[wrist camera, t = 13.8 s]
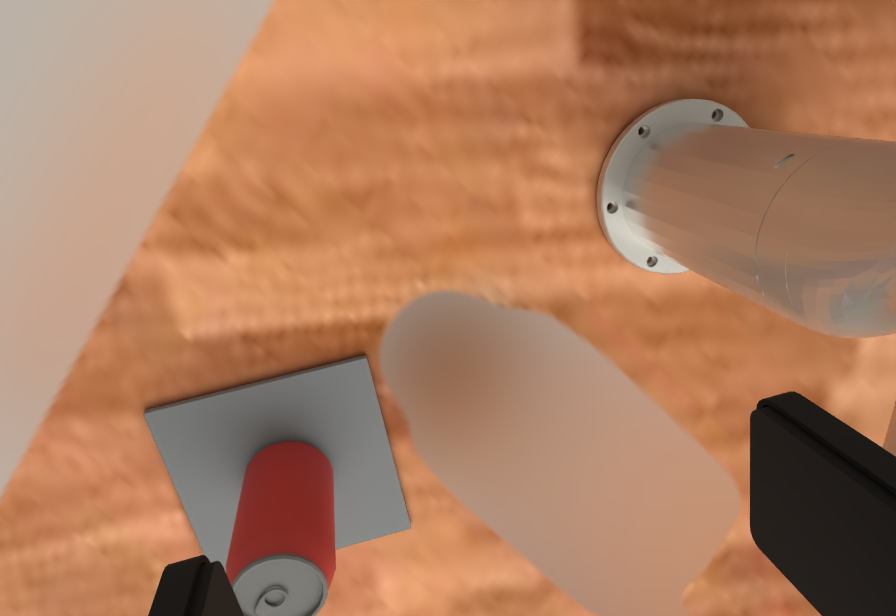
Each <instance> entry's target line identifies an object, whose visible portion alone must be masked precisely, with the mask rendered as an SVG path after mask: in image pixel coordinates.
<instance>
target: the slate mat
mask: <svg viewBox="0 0 896 616" xmlns="http://www.w3.org/2000/svg"><path fill="white" fill-rule="evenodd" d="M143 415H144V417H145V420H146V422H147V424H148V427H149V429H150V431H151V433H152V436H153V438H154V440H155V443H156V445H157V447H158V450H159V452H160V454H161V456H162V459H163V461H164V463H165V466H166V468H167V470H168V473H169V475H170V477H171V479H172V482H173V484H174V486H175V489H176V491H177V493H178V495H179V498H180V500H181V502H182V505H183V507H184V509H185V512H186V514H187V516H188V518H189V521H190V523H191V525H192V528H193V530H194V532H195V535H196V537H197V539H198V541H199V544H200V546H201V548H202V551H203V553H204V555H205V556H206V557H207V558H208V559H209V561H210V562H214V561H220V562H221V563H222V565H223V567H224V570H225V572H226V562H227V557H228V552H229V548H230V543H231V538H232V533H233V528H234V523H235V518H236V513H237V508H238V503H239V499H240V494H241V489H242V484H243V479H244V475H245V472H246V468H247V465H248V464H249V463H250V461H251V460H252V459H253V457H254V456H255V455H256V454H257V453H259V452H260V451H262V450H263V449H265V448H266V447H267V446H270V445H273V444H276V443H279V442H287V441H297V442H302V443H307V444H309V445H311V446H313V447H315V448H317V449H319V450H320V451H321V452H322V453H323V454H324V455H325V456H326V457H327V458H328V459H329V462H330V464H331V466H332V468H333V479H334V517H335V550H336V549H340V548H343V547H347V546H350V545H354V544H357V543H361V542H365V541H368V540H372V539H375V538H379V537H382V536H386V535H389V534H393V533H396V532H400V531H403V530H407V529H410V528H411V523H410V519H409V516H408V512H407V508H406V504H405V500H404V497H403V493H402V489H401V485H400V481H399V478H398V474H397V470H396V466H395V462H394V459H393V455H392V451H391V447H390V443H389V440H388V436H387V432H386V428H385V425H384V421H383V417H382V413H381V409H380V406H379V402H378V398H377V394H376V390H375V387H374V383H373V379H372V375H371V371H370V368H369V364H368V360H367V356H366V355H362V356H358V357H354V358H350V359H346V360H342V361H338V362H334V363H330V364H326V365H322V366H318V367H314V368H310V369H306V370H302V371H298V372H294V373H290V374H286V375H282V376H278V377H274V378H270V379H266V380H262V381H258V382H255V383H251V384H247V385H243V386H239V387H235V388H231V389H227V390H223V391H219V392H215V393H211V394H207V395H203V396H199V397H195V398H191V399H187V400H183V401H179V402H175V403H171V404H167V405H163V406H159V407H155V408H151V409H147V410H145V411H144V413H143Z"/></svg>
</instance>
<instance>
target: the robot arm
mask: <svg viewBox="0 0 896 616" xmlns="http://www.w3.org/2000/svg"><path fill="white" fill-rule="evenodd" d="M712 113H713V115H712ZM639 128H641V132H640V133H639V134H638V131H639ZM596 196H597V213H598V217H599V221H600V225H601V228H602V230H603V232H604V235H605V237H606V239H607V241H608V242H609V243H610V245H611V246H612V247H613V249H614V250H615V251H616V252H617V253H618V254H619V255H620V256H622V257H623V258H624V259H625V260H626V261H628V262H630V263H632V264H633V265H635V266H637V267H638V268H641V269H643V270H646V271H649V272H653V273H660V274H676V273H682V272H686V271H690V270H692V271H694V272H695V273H697V274H699V275H701V276H703V277H705V278H707V279H709V280H711V281H713V282H715V283H717V284H719V285H721V286H723V287H725V288H727V289H729V290H731V291H733V292H735V293H737V294H739V295H741V296H743V297H745V298H747V299H749V300H751V301H753V302H755V303H757V304H759V305H761V306H763V307H765V308H767V309H769V310H771V311H773V312H775V313H777V314H779V315H781V316H783V317H785V318H787V319H789V320H791V321H793V322H795V323H797V324H799V325H801V326H804V327H806V328H808V329H810V330H813V331H816V332H819V333H822V334H826V335H830V336H835V337H843V338H870V337H877V336H885V335H890V334H895V333H896V142H894V141H883V140H872V139H860V138H850V137H840V136H829V135H819V134H809V133H799V132H789V131H779V130H769V129H758V128H749V126H748V124H747V123H746V122H745V121H744V120H743V119H742V118H741V117H740V116H739V115H738V114H737V113H736V112H734V111H733V110H731V109H730V108H728V107H727V106H725V105H722V104H720V103H717V102H714V101H711V100H703V99H678V100H674V101H669V102H665V103H663V104H660V105H658V106H656V107H653V108H651V109H649V110H648V111H646V112H645V113H643V114H642V115H640V116H639V117H637V118H636V119H635V120H634V121H633V122H632V123H631V124H630V125H629V126H628V127H627V128H625V129H624V130H623V131H622V133H621V134H620V136H619V137H618V138H617V140H616V141H615V142H614V144H613V145H612V147H611V149H610V151H609V153H608V155H607V157H606V159H605V161H604V163H603V166H602V169H601V173H600V176H599V180H598V187H597V195H596ZM609 203H610V207H609V208H607V205H608V204H609ZM648 258H649V259H648ZM647 259H648V261H647ZM750 531H751V534H752V537H753V539H754V541H755V543H756V545H757V546H758V548H759V549H760V550H761V551H762V552H763V553H764V554H765V555H766V556H767V558H768V559H769V560H770V561H771V562H772V563H773V564H774V565H775V566H776V567H777V568H778V569H779V570H780V571H781V572H782V574H783V575H784V576H785V577H786V578H787V579H788V580H789V581H790V582H791V583H792V584H793V585H794V586H795V587H796V588H797V590H798V591H799V592H800V593H801V594H802V595H803V596H804V597H805V598H806V599H807V600H808V601H809V602H810V603H811V604H812V606H813V607H814V608H815V609H816V610H817V611H818V612H819V613H820V614H821V615H822V616H896V402H895V406H894V409H893V413H892V416H891V420H890V423H889V427H888V431H887V434H886V438H885V441H884V445H883V448H882V447H880V446H879V445H877V444H876V443H874V442H873V441H871V440H870V439H868V438H867V437H865V436H864V435H862V434H860V433H859V432H857V431H856V430H854V429H853V428H851V427H850V426H848V425H847V424H845V423H844V422H842V421H840V420H839V419H837V418H836V417H834V416H833V415H831V414H830V413H828V412H827V411H825V410H824V409H822V408H820V407H819V406H817V405H816V404H814V403H813V402H811V401H810V400H808V399H807V398H805V397H804V396H802V395H800V394H798V393H796V392H787V393H783V394H779V395H776V396H772V397H769V398H765V399H762V400H760V401H759V402H758V404H757V409H756V410H754V411H752V413H751V417H750ZM148 616H244V614H243V612H242V610H241V607H240V605H239V603H238V600H237V598H236V596H235V593H234V591H233V588H232V586H231V584H230V581H229V579H228V577H227V574H226V572H225V570H224V567H223V565H222V563H221V562H220V561H214V562H210V561H209V559H208V558H207V557H206V556H205V555H201V556H198V557H194V558H190V559H187V560H183V561H180V562H176V563H172V564H169V565H167V566H166V567H165V569H164V571H163V573H162V576H161V579H160V582H159V585H158V588H157V591H156V594H155V597H154V600H153V603H152V606H151V609H150V612H149V615H148Z"/></svg>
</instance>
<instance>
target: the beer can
mask: <svg viewBox="0 0 896 616" xmlns="http://www.w3.org/2000/svg"><path fill="white" fill-rule="evenodd" d="M335 569H336V556H335V517H334V479H333V468H332V466H331V464H330V462H329V459H328V458H327V457H326V456H325V455H324V454H323V453H322V452H321V451H320V450H319V449H317V448H315V447H313V446H311V445H309V444H307V443H302V442H297V441H287V442H279V443H276V444H273V445H270V446H267V447H266V448H265V449H263V450H262V451H260V452H259V453H257V454H256V455H255V456H254V457H253V459H252V460H251V461H250V463H249V464H248V465H247V468H246V472H245V475H244V479H243V484H242V489H241V494H240V499H239V503H238V508H237V513H236V518H235V523H234V528H233V533H232V538H231V543H230V548H229V552H228V557H227V562H226V574H227V577H228V579H229V581H230V584H231V586H232V588H233V591H234V593H235V596H236V598H237V600H238V603H239V605H240V607H241V610H242V612H243V614H244V616H316V615H317V613H318V612H319V611H320V610H321V609H322V607H323V606H324V604H325V601H326V598H327V595H328V590H329V587H330V585H331V582H332V579H333V576H334V573H335Z"/></svg>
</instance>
